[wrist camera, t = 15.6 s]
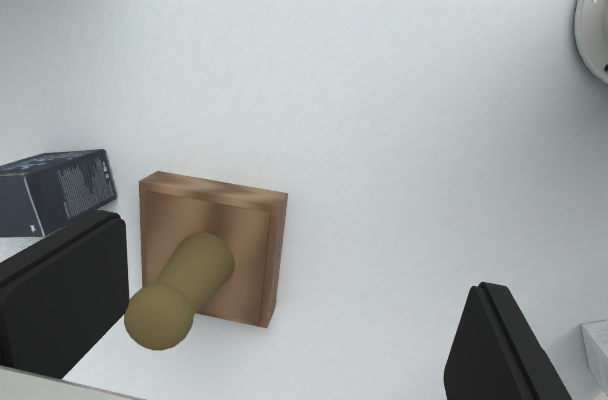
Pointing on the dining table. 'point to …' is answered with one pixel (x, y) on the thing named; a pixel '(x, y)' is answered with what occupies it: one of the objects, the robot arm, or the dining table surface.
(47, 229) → the box
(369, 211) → the dining table surface
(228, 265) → the cork
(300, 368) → the dining table surface
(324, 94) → the dining table surface
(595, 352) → the skincare box
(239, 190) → the walnut plinth
